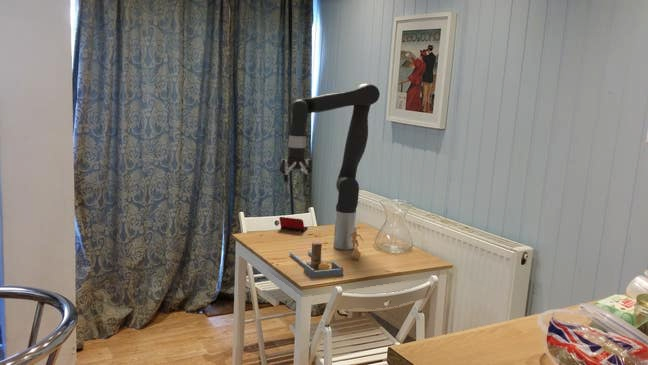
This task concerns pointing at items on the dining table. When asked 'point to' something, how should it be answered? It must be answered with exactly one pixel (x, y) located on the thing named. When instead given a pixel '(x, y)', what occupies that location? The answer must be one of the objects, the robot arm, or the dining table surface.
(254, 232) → the dining table surface
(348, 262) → the dining table surface
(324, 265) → the ball
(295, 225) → the red slanted panel
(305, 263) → the rails
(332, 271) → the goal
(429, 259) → the dining table surface
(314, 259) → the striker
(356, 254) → the figurine
